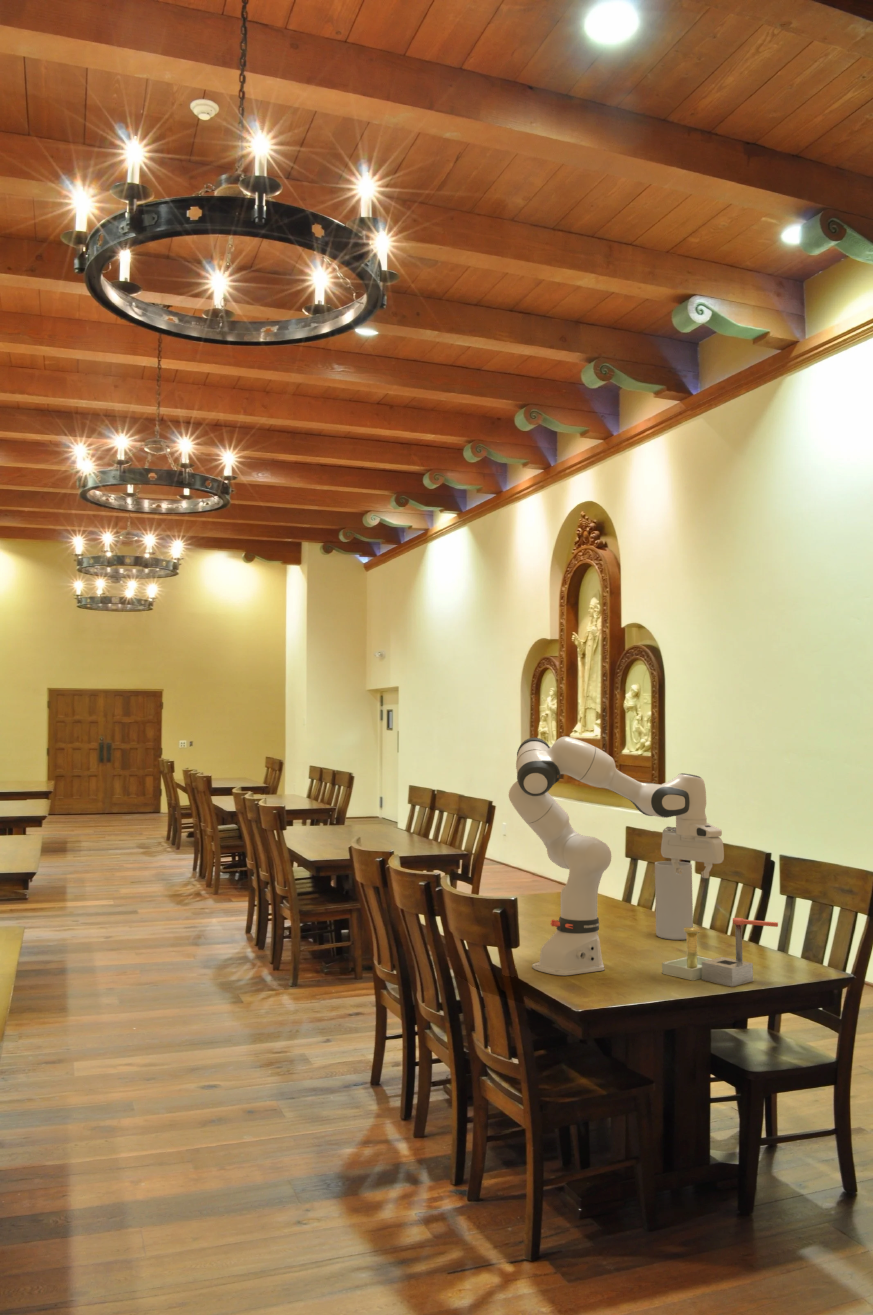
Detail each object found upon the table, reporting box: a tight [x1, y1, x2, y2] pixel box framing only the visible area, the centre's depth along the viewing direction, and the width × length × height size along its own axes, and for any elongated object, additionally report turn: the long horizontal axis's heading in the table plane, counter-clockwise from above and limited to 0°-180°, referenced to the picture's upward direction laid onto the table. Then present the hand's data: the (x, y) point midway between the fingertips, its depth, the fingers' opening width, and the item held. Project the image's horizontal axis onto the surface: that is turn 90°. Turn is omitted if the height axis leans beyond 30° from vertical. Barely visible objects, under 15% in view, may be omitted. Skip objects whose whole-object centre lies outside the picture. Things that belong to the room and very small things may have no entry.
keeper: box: [732, 917, 779, 928], centre depth 278 cm, size 12×3×1 cm, turn 63°
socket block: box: [701, 924, 754, 988], centre depth 276 cm, size 12×10×15 cm
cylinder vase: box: [654, 860, 694, 941], centre depth 336 cm, size 12×12×25 cm
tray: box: [661, 955, 712, 981], centre depth 284 cm, size 16×11×3 cm
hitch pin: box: [684, 926, 700, 969], centre depth 284 cm, size 4×4×12 cm
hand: (691, 876), depth 286 cm, fingers open, 8 cm apart
